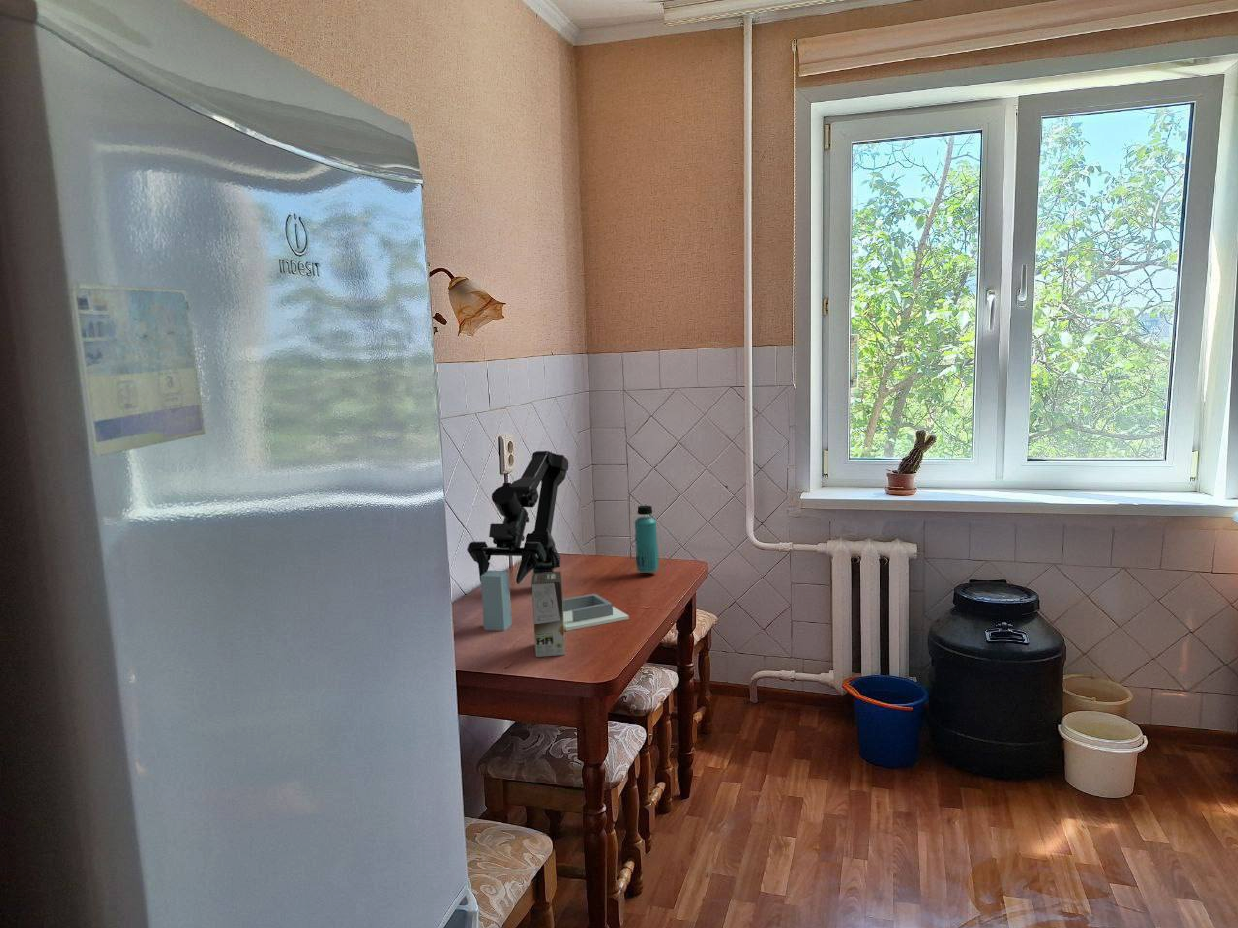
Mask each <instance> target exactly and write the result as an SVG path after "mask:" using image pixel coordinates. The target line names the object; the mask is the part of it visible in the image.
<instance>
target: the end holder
mask: <svg viewBox="0 0 1238 928" xmlns="http://www.w3.org/2000/svg"><path fill="white" fill-rule="evenodd" d="M562 600H563V617H564V631H566V632H568V631H573V630H578V629H584V628H590V627H595V626H599V625H600V626H601V625H604V624H610V623H616V622H621V621H626V620H629V619H630V616H629V614H627V613H625V612H623V611H622V610H620V609H619V608H617V607H615V606H613V605H614V604H613V603H612V602H610V601H609V600H607V599H605V598H604V597H602V596H600V595H598V594H597V593H591V594H585V595H581V596H579V595H578V596H574V597H568V598H562Z"/></svg>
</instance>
